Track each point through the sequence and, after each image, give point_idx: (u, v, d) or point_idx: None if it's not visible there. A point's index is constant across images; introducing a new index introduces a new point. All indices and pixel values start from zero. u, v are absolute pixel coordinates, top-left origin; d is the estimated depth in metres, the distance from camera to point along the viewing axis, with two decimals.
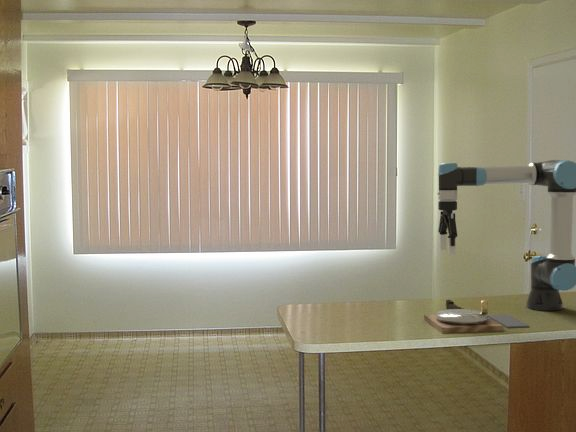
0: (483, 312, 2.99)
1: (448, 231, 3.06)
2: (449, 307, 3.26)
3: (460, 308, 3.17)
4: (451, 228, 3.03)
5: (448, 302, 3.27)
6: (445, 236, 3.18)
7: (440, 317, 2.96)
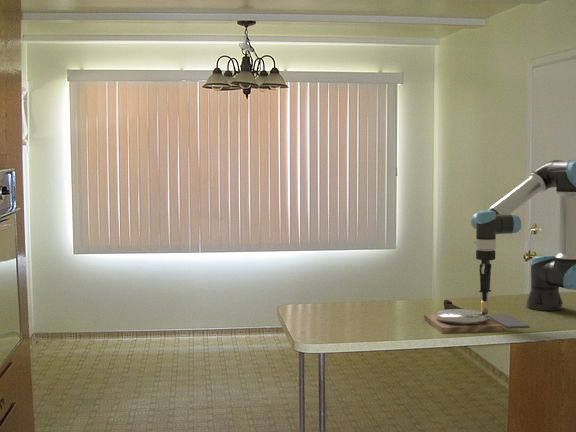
0: (483, 312, 2.99)
1: None
2: (447, 307, 3.25)
3: (459, 308, 3.17)
4: (481, 284, 2.98)
5: (446, 302, 3.27)
6: None
7: (440, 317, 2.96)
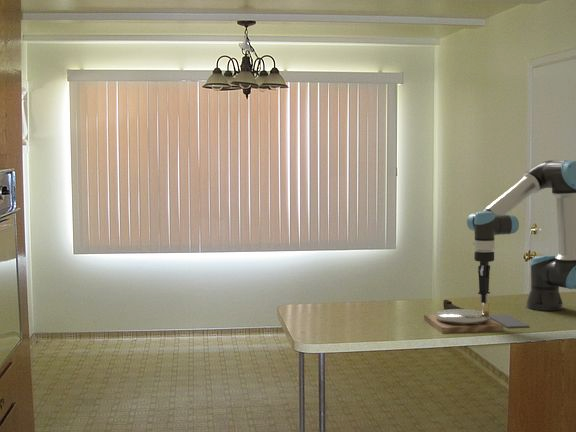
0: (483, 314, 2.96)
1: None
2: (447, 307, 3.25)
3: (459, 308, 3.17)
4: (480, 285, 2.94)
5: (446, 302, 3.27)
6: None
7: None
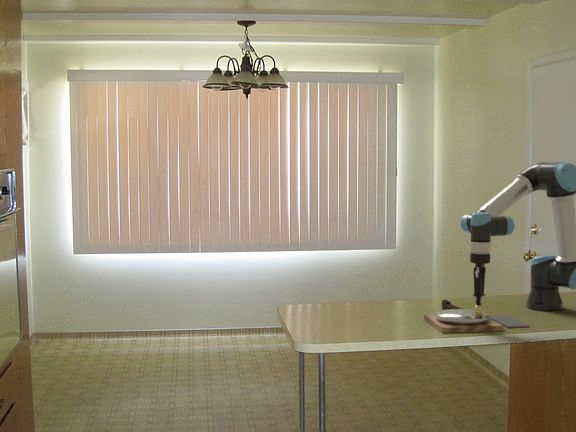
0: (475, 316, 2.92)
1: None
2: (446, 307, 3.25)
3: (459, 308, 3.17)
4: (475, 288, 2.89)
5: (445, 302, 3.27)
6: None
7: None
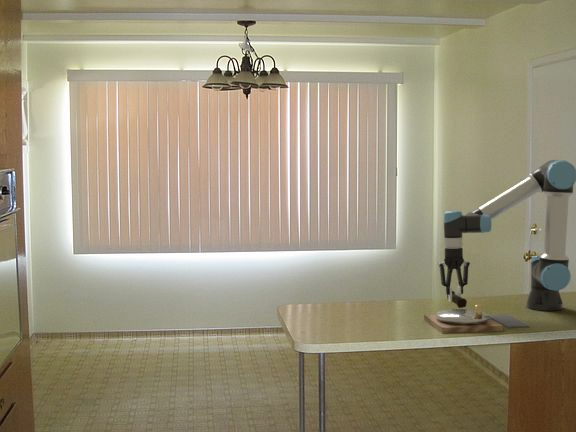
0: (475, 316, 2.92)
1: None
2: None
3: (461, 298, 3.16)
4: (441, 277, 3.23)
5: None
6: (458, 288, 3.22)
7: None
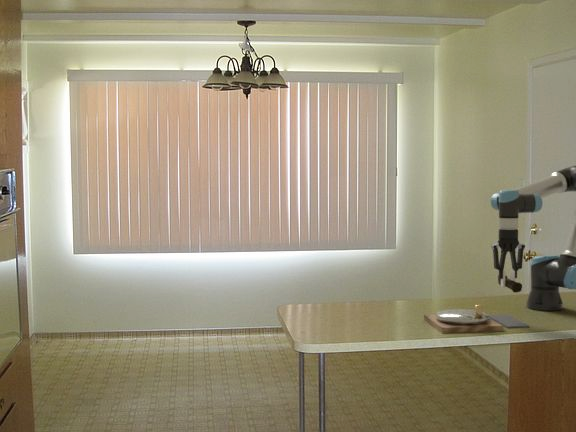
0: (475, 316, 2.92)
1: None
2: None
3: (515, 282, 2.97)
4: (494, 260, 3.04)
5: None
6: (512, 272, 3.03)
7: None
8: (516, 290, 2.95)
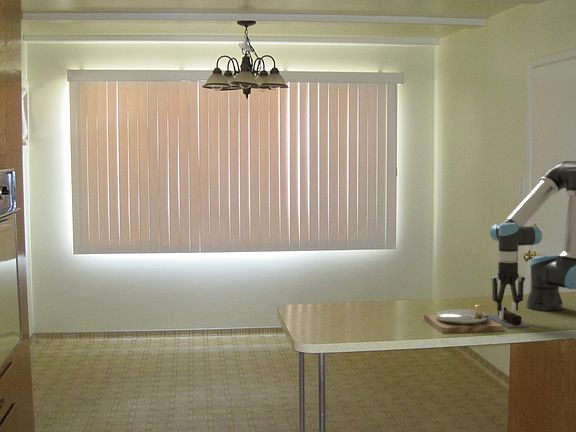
0: (475, 316, 2.92)
1: None
2: None
3: (515, 315, 2.98)
4: None
5: None
6: (513, 304, 3.04)
7: None
8: (516, 323, 2.96)
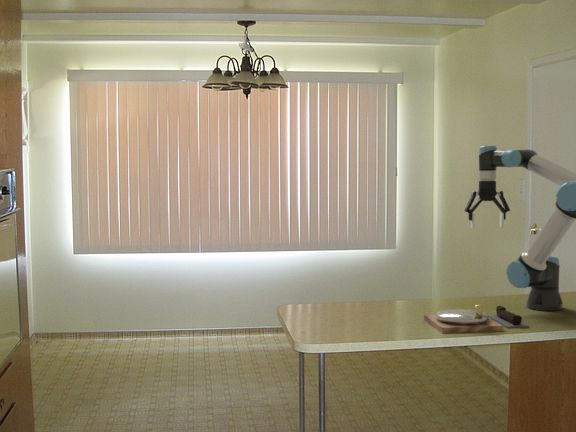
0: (475, 316, 2.92)
1: None
2: (501, 314, 3.07)
3: (515, 315, 2.98)
4: (467, 204, 3.39)
5: (500, 308, 3.08)
6: (501, 214, 3.39)
7: None
8: (516, 323, 2.96)
